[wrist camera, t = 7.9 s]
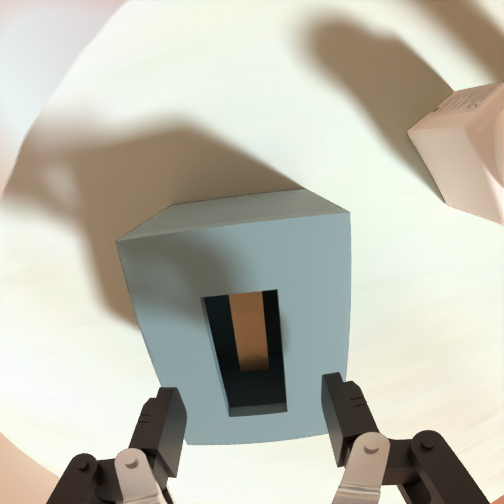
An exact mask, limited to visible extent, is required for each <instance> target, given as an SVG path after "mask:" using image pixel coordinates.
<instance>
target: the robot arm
mask: <svg viewBox="0 0 504 504" xmlns="http://www.w3.org/2000/svg"><path fill="white" fill-rule="evenodd" d="M321 405H322V410H323V414H324V418H325V422H326V425H327V429H328V433H329V437H330V441H331V444H332V448H333V452H334V456H335V460H336V464H337V467H342V466H344V467H345V472H344V475H343V478H342V480H341V483H340V485H339V487H338V489H337V492H336V494H335V497H334V499H333V502H332V504H378V502H379V498H380V493H381V492H380V488H381V485H397V487H398V489H399V491H400V492H401V494H402V496H403V498H404V500H405V502H406V504H490V503H489V501H488V500H487V498H486V497H485V495H484V494H483V492H482V491H481V490H480V488H479V487H478V485H477V484H476V482H475V481H474V480H473V478H472V477H471V475H470V474H469V473H468V471H467V470H466V468H465V467H464V466H463V464H462V463H461V461H460V460H459V459H458V457H457V456H456V455H455V453H454V452H453V451H452V449H451V448H450V446H449V445H448V444H447V442H446V441H445V440H444V438H443V437H442V436H441V435H440V434H439V433H437V432H435V431H432V430H425V431H421V432H419V433H417V434H416V435H415V436H414V437H413V439H406V440H393V439H389V438H387V437H386V436H384V435H383V434H381V433H380V432H379V430H378V428H377V426H376V423H375V421H374V419H373V416H372V414H371V412H370V409H369V407H368V405H367V402H366V400H365V398H364V395H363V393H362V391H361V389H360V387H359V386H358V385H357V384H355V383H354V382H353V381H348V382H343V380H342V377H341V374H340V372H334V373H329V374H323V375H322V383H321ZM186 424H187V411H186V408H185V405H184V403H183V400H182V398H181V395H180V392H179V390H178V388H177V387H160V388H159V391H158V394H157V397H156V398H150V399H149V400H148V401H147V402H146V403H145V404H144V405H143V408H142V411H141V413H140V416H139V419H138V423H137V425H136V427H135V430H134V433H133V436H132V439H131V442H130V445H129V447H128V449H125V450H123V451H121V452H120V453H119V454H118V455H117V456H116V458H114V459H107V460H96V459H95V457H94V456H92V455H90V454H87V453H82V454H79V455H76V456H75V457H74V458H73V459H72V460H71V461H70V463H69V465H68V466H67V468H66V470H65V472H64V473H63V475H62V477H61V478H60V480H59V482H58V484H57V485H56V487H55V489H54V491H53V492H52V494H51V496H50V498H49V500H48V501H47V503H46V504H176V503H175V501H174V499H173V497H172V494H171V492H170V490H169V487H168V485H167V480H168V477H173V478H176V477H177V471H178V466H179V460H180V455H181V450H182V444H183V439H184V434H185V429H186ZM123 501H124V503H123Z"/></svg>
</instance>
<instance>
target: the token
mask: <svg viewBox="0 0 504 504" xmlns="http://www.w3.org/2000/svg"><path fill="white" fill-rule="evenodd" d="M229 300H230V307H231V313H232V320H233V326H234V333H235V339H236V345H237V351H238V357H239V364H240V370H241V372H242V371H255V370H267V369H269V360H268V349H267V338H266V326H265V316H264V305H263V295H262V291H257V292H248V293H239V294H230V295H229Z"/></svg>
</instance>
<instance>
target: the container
mask: <svg viewBox="0 0 504 504" xmlns="http://www.w3.org/2000/svg"><path fill="white" fill-rule="evenodd" d="M407 134H408V136H409V138H410V139H411V141H412V142H413V144H414V146H415V147H416V149H417V151H418V152H419V154H420V156H421V157H422V159H423V161H424V163H425V164H426V166H427V168H428V170H429V171H430V173H431V175H432V177H433V179H434V181H435V183H436V184H437V186H438V188H439V190H440V192H441V194H442V196H443V198H444V200H445V202H446V204H447V205H448V206H449V207H452V208H455V209H459V210H462V211H465V212H467V213H470V214H473V215H476V216H479V217H482V218H485V219H487V220H490V221H493V222H495V223H498V224H501V225H504V82H500V83H494V84H488V85H483V86H478V87H473V88H468V89H463V90H459V91H455V92H454V93H452V94H451V95H450V96H449V97H448V98H446V99H445V100H444V101H443V102H442V103H440V104H439V105H438V106H437V107H436V108H434V109H433V110H432V111H431V112H430V113H428V114H427V115H426V116H425V117H423V118H422V119H421V120H420V121H419V122H417V123H416V124H415V125H414V126H413V127H411V128H410V129H409V130H408V132H407Z"/></svg>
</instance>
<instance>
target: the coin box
mask: <svg viewBox="0 0 504 504" xmlns="http://www.w3.org/2000/svg"><path fill="white" fill-rule="evenodd" d="M116 244H117V248H118V252H119V257H120V261H121V265H122V269H123V272H124V276H125V280H126V284H127V287H128V291H129V294H130V298H131V301H132V304H133V308H134V311H135V314H136V317H137V321H138V324H139V327H140V330H141V333H142V336H143V339H144V342H145V344H146V347H147V350H148V353H149V356H150V358H151V361H152V364H153V366H154V369H155V372H156V374H157V377H158V379H159V382H160V384H161V387H177V388H178V390H179V392H180V395H181V398H182V400H183V403H184V405H185V408H186V411H187V424H186V429H185V434H184V438H185V441H186V443H187V445H232V444H250V443H263V442H274V441H283V440H291V439H298V438H305V437H311V436H317V435H323V434H328V429H327V425H326V422H325V418H324V414H323V410H322V405H321V383H322V375H323V374H329V373H334V372H340V374H341V377H342V380H343V382H346V372H347V361H348V347H349V330H350V307H351V225H350V212H349V211H347V210H345V209H343V208H341V207H340V206H338V205H336V204H334V203H332V202H330V201H328V200H326V199H325V198H323V197H321V196H319V195H317V194H315V193H313V192H311V191H309V190H307V189H296V190H286V191H276V192H267V193H258V194H249V195H241V196H233V197H225V198H218V199H210V200H203V201H196V202H189V203H183V204H176V205H170V206H169V207H167V208H165V209H164V210H162V211H161V212H159V213H157V214H156V215H154V216H153V217H151V218H150V219H148V220H147V221H145V222H144V223H142V224H141V225H139V226H137V227H136V228H134V229H133V230H131V231H130V232H128V233H127V234H126V235H124V236H123V237H121V238H120V239H118V240H117V241H116ZM257 291H262V295H263V305H264V316H265V326H266V338H267V349H268V360H269V369H267V370H255V371H242V372H241V370H240V364H239V357H238V351H237V345H236V339H235V333H234V326H233V320H232V313H231V307H230V300H229V295H230V294H239V293H248V292H257Z"/></svg>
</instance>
